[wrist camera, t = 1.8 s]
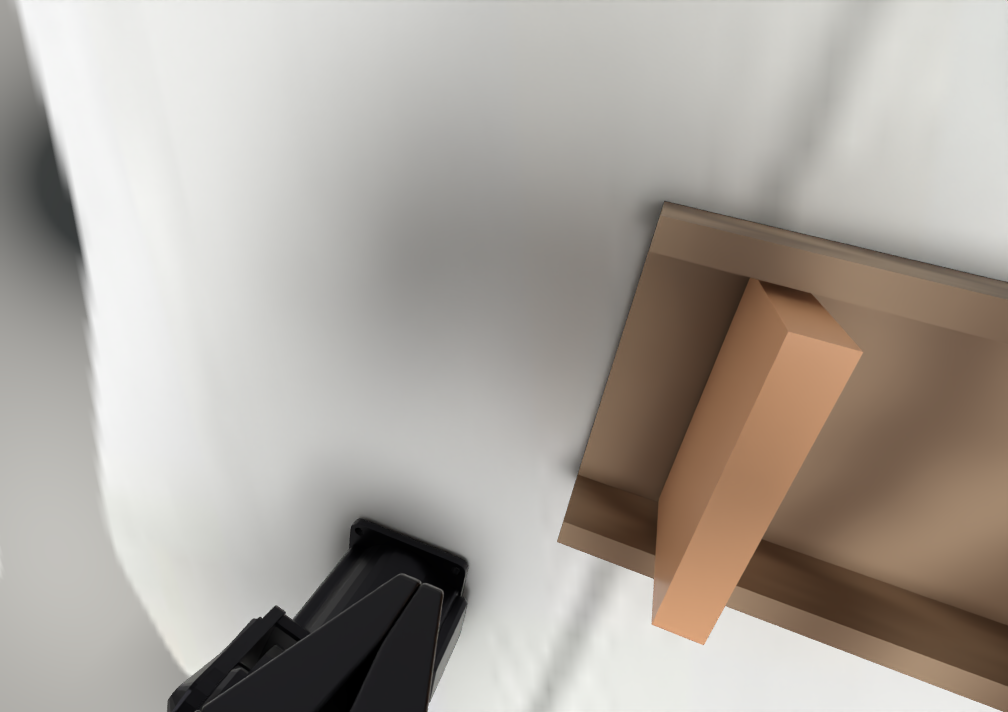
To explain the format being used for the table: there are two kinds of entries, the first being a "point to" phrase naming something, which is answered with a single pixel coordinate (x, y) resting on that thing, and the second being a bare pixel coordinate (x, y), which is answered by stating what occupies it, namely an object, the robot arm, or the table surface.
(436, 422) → the table surface
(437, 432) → the table surface
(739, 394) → the tan wooden beam
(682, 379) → the brown wooden tray
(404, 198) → the table surface
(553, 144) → the table surface
